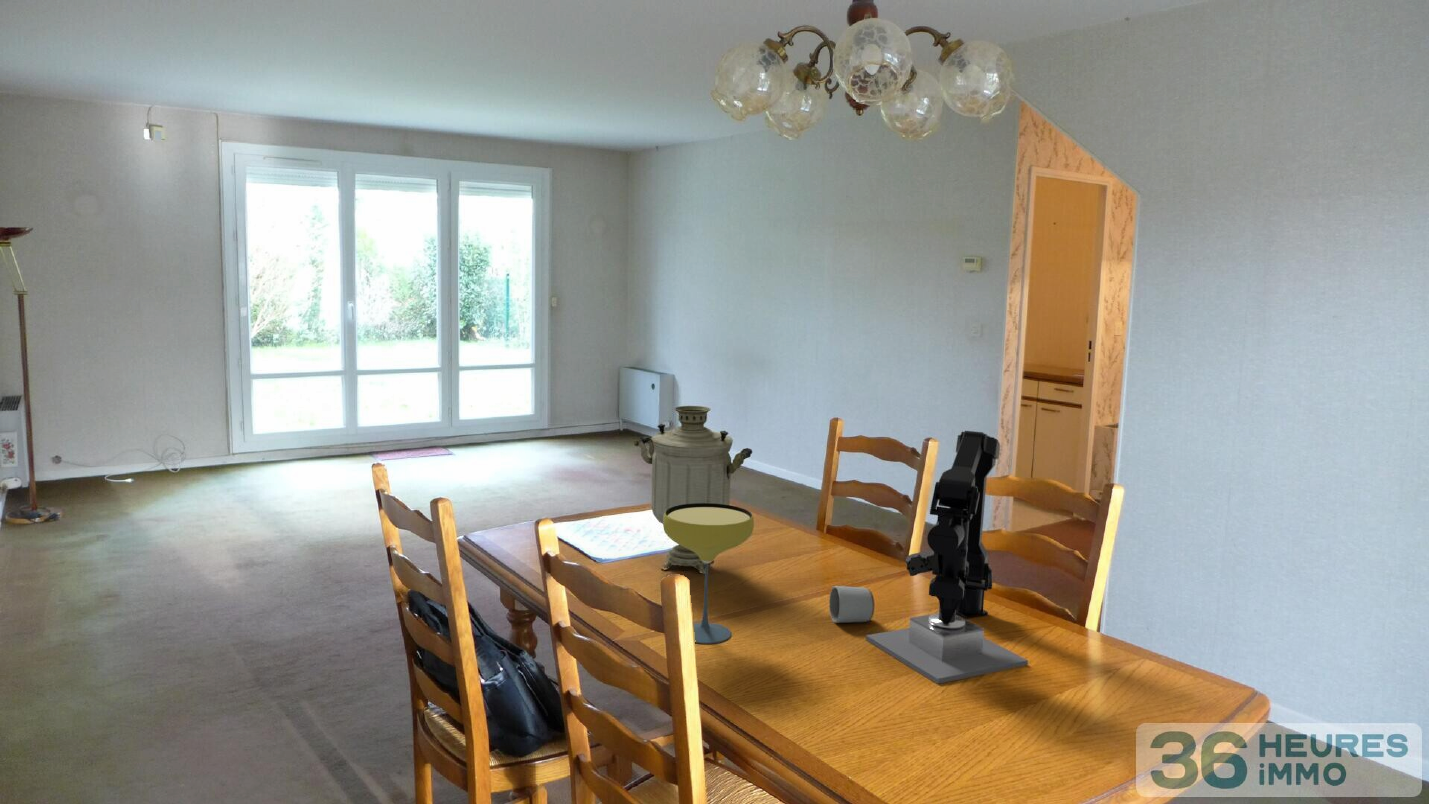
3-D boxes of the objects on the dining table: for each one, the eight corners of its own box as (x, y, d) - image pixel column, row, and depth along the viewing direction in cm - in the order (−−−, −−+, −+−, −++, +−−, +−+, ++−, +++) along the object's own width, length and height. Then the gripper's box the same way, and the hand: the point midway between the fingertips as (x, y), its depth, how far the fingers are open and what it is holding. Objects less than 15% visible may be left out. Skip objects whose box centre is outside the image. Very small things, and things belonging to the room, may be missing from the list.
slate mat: (950, 625, 196) (951, 620, 196) (1027, 665, 176) (1028, 660, 176) (865, 640, 186) (866, 635, 186) (937, 684, 167) (937, 678, 166)
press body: (947, 634, 188) (949, 611, 187) (982, 653, 179) (984, 628, 178) (908, 641, 183) (910, 617, 183) (941, 661, 174) (943, 635, 174)
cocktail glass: (647, 623, 191) (650, 505, 188) (727, 613, 198) (731, 500, 195) (679, 656, 175) (683, 528, 171) (764, 644, 182) (769, 521, 179)
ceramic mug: (875, 626, 194) (877, 591, 193) (838, 628, 192) (840, 592, 191) (858, 609, 204) (860, 576, 203) (823, 611, 202) (824, 577, 202)
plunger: (947, 636, 186) (949, 596, 185) (971, 649, 179) (974, 607, 178) (919, 641, 183) (922, 600, 181) (942, 654, 176) (945, 612, 175)
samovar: (771, 562, 236) (778, 407, 231) (717, 589, 214) (723, 419, 209) (676, 541, 252) (680, 396, 246) (616, 564, 230) (619, 405, 224)
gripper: (915, 525, 190) (910, 598, 192) (904, 549, 172) (899, 629, 174) (971, 531, 186) (966, 606, 188) (965, 556, 169) (959, 638, 171)
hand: (946, 619), depth 180 cm, fingers open, 5 cm apart
